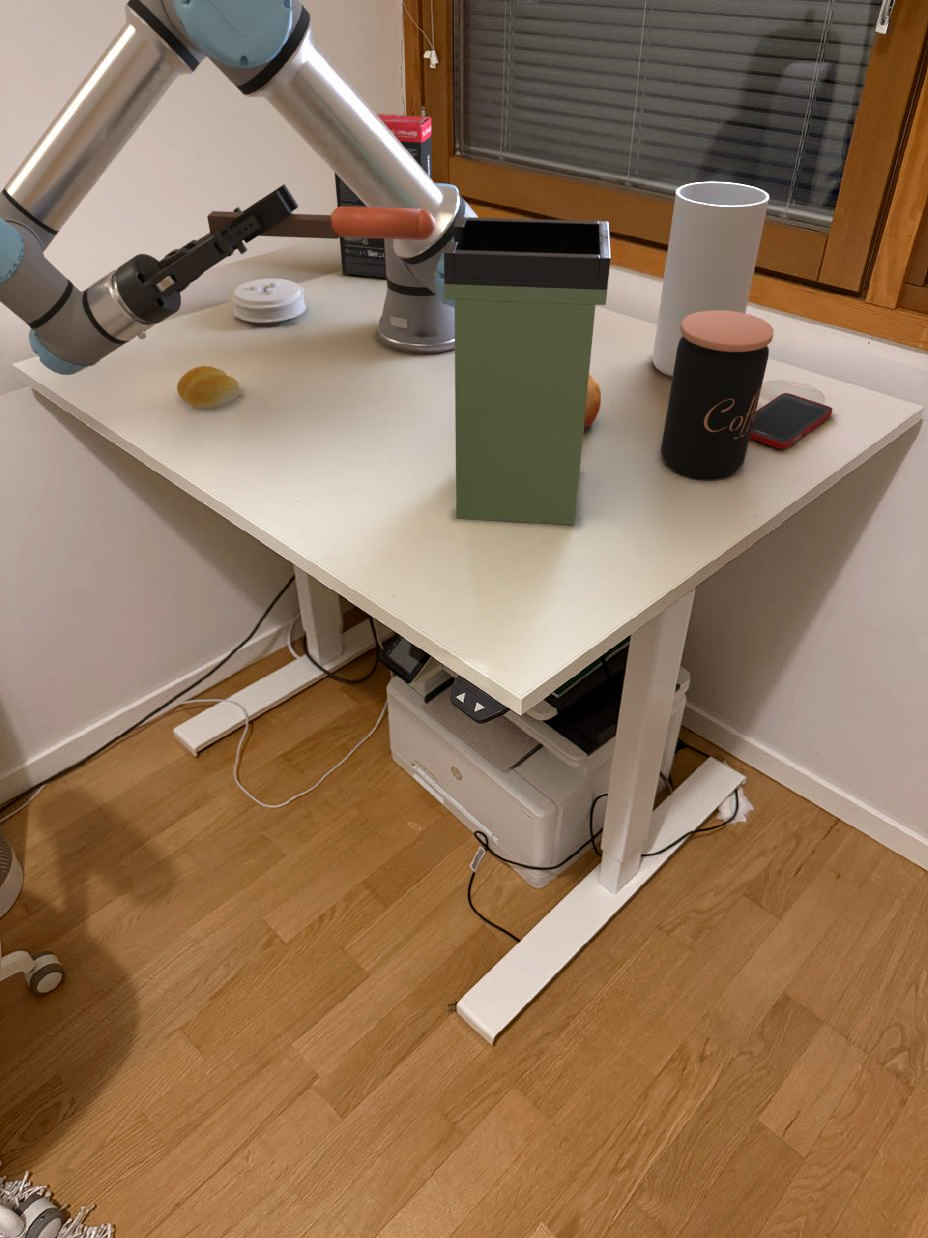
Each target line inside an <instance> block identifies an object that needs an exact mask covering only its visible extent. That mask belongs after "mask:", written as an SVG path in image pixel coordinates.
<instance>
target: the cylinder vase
mask: <svg viewBox="0 0 928 1238" xmlns="http://www.w3.org/2000/svg"><path fill="white" fill-rule="evenodd" d="M769 200H770V195H769V193H768V192H766V191H765V190H763V189H760V188H758V187H755V186H751V185H747V184H742V183H735V182H725V181H703V182H702V181H701V182H693V183H688V184H684V185H681V186H680V187H678V188H677V189H676V190H675V198H674V202H673V203H674V204H673V210H672V218H671V223H670V224H671V225H670V226H671V227H670V232H669V239H668V246H667V254H666V260H665V267H664V276H663V282H662V288H661V289H662V290H661V295H660V303H659V310H658V318H657V323H656V331H655V337H654V346H653V353H652V363H653V365H654V366H655V368H656V369H657V370H658V371H659V372H661V373H662V374H664V375H665V376H668V377H670V378H672V377H673V371H674V365H675V358H676V352H677V346H678V343H679V340H680V338H681V337H682V336H683V335H682V333H681V324H682V321H683V319H684V318H686V317H687V316H688V315H691V314H694V313H697V312H702V311H710V310H725V311H735V312H741V313H745V314H746V313H747V307H748V302H749V299H750V298H749V297H750V292H751V288H752V283H753V279H754V273H755V267H756V263H757V259H758V253H759V249H760V245H761V239H762V234H763V230H764V224H765V221H766V215H767V210H768V207H769V206H768V205H769V202H770V201H769Z"/></svg>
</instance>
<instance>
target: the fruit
mask: <svg viewBox="0 0 928 1238" xmlns="http://www.w3.org/2000/svg"><path fill="white" fill-rule="evenodd" d="M601 400H602V393H601V388H600V386H599V384H598V383H597V382H596V380H595V379H594V377H593V376H592V375H591V374H590V373H589V379H588V389H587V400H586V410H585V421H584V429H586V428H589V427H590V426H591V425H593V423H594V422H595V420H596V418H597V417H598V414H599V412H600V408H601V403H602V401H601Z"/></svg>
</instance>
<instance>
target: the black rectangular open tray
mask: <svg viewBox="0 0 928 1238" xmlns="http://www.w3.org/2000/svg"><path fill="white" fill-rule="evenodd" d="M610 243H611V242H610V229H609V221H607V220H605V221H602V220H601V221H599V220H571V219H570V220H569V219H536V218H509V217H508V218H505V217H502V218H501V217H499V218H498V217H479V218H474V217H458V218H457V220H456V223H455V225H454V242H448V243H447V246H446V249H445V251H444V284H460V285H487V286H515V287H542V288H570V289H598V290H607V291H608V288H609V277H610V270H611V269H610V267H611V258H612V257H611V245H610Z"/></svg>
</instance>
